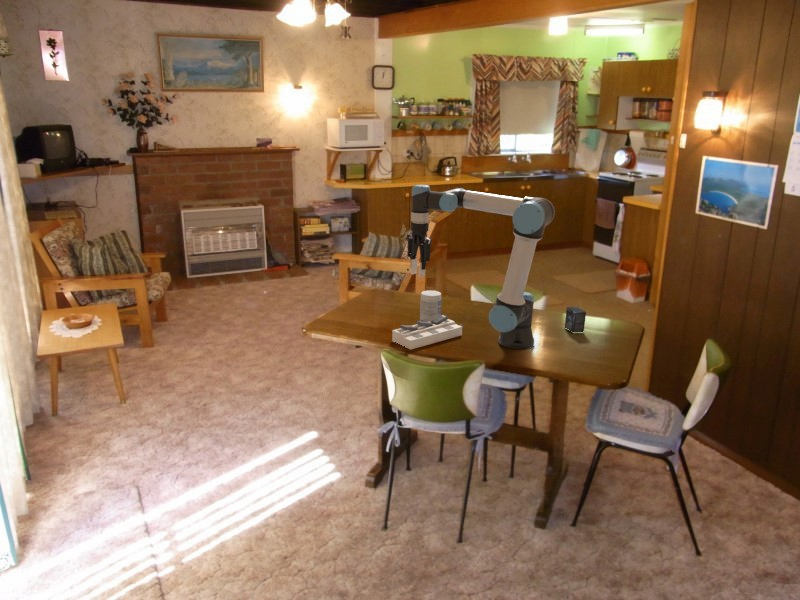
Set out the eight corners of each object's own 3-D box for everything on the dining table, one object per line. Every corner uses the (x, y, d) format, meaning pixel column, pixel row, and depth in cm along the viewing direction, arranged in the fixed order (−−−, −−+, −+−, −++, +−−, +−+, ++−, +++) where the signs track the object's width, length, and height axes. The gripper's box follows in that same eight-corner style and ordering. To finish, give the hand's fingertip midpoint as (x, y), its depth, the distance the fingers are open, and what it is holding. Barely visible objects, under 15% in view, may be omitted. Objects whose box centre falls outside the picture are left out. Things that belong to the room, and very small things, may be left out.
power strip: (471, 332, 310) (472, 321, 308) (410, 349, 287) (410, 338, 286) (452, 325, 318) (453, 314, 317) (392, 341, 296) (392, 330, 295)
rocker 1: (416, 330, 297) (417, 327, 297) (404, 330, 292) (405, 326, 292) (411, 328, 299) (412, 325, 299) (399, 328, 294) (400, 324, 294)
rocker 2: (432, 326, 302) (432, 323, 302) (420, 326, 298) (421, 322, 297) (427, 324, 305) (428, 321, 304) (415, 324, 300) (416, 320, 300)
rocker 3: (447, 319, 308) (447, 316, 307) (436, 325, 304) (436, 322, 303) (442, 317, 310) (442, 314, 309) (431, 323, 306) (431, 320, 306)
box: (564, 328, 318) (566, 306, 315) (574, 327, 320) (577, 306, 316) (572, 334, 311) (575, 312, 308) (584, 333, 312) (586, 311, 309)
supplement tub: (442, 326, 316) (443, 296, 312) (421, 327, 315) (422, 296, 310) (438, 319, 325) (439, 289, 321) (418, 320, 324) (419, 290, 319)
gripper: (440, 224, 288) (438, 278, 295) (413, 217, 301) (411, 269, 308) (427, 226, 283) (424, 281, 290) (399, 219, 296) (398, 272, 303)
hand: (417, 275), depth 299 cm, fingers open, 4 cm apart
